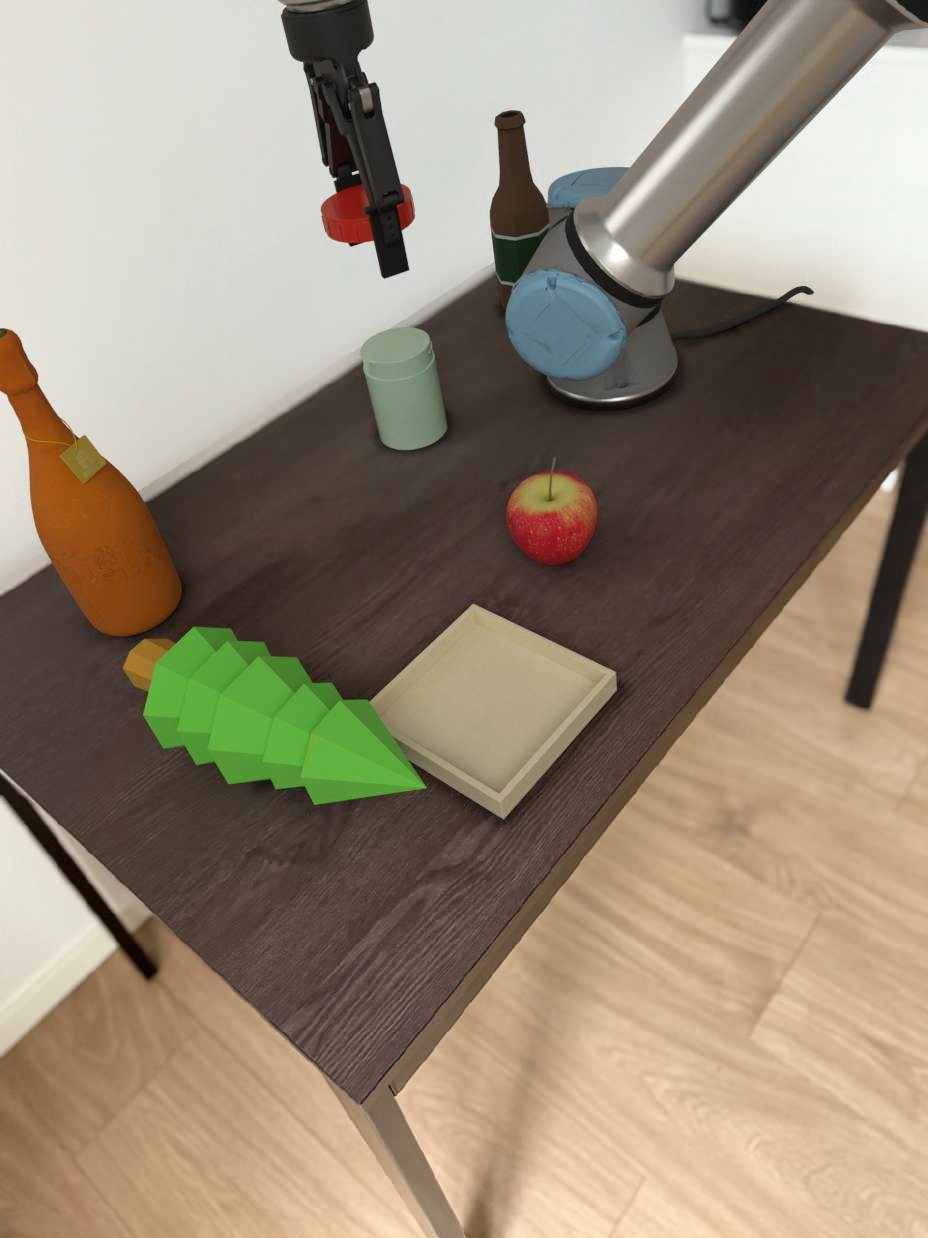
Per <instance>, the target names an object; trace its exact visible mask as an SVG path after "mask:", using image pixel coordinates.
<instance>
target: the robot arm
mask: <svg viewBox="0 0 928 1238" xmlns="http://www.w3.org/2000/svg"><path fill="white" fill-rule="evenodd" d="M277 2H279V4H281V5H283V6H285V7H284V8H283V9H282V11H281V14H280V18H281V19H280V20H281V23H282V27H283V31H284V36H285V39H286V43H287V47H288V51H289V55H290V57H292V58H293V59H294V60H295V61H296V62H300V63H302V69H303V71H304V72H303V73H304V74H305V78H306V82H307V86H308V90H309V95H310V100H311V106H312V112H313V117H314V122H315V123H314V124H315V129H316V134H317V138H318V145H319V150H320V156H321V162H322V164H323V166H324V167H325V168H328V173H329V175H330V176H331V178H332V179H334V180H333V185H334V189H335V194H336V193H338V192H340V191H342V190H344V189H347V188H350V187H353V186H357V185H361V184H363V186H364V189H365V192H366V195H367V198H368V201H369V206H368V207H366V208H364V209H363V211H364V213H365V215H368V217H369V221H370V226H371V230H372V235H373V240H374V241H373V244H374V248H375V249H374V250H375V253H376V257H377V262H378V267H379V272H380V277H382V278H383V280H386V279H389V278H392V277H395V276H397V275H401V274H403V273H405V272H409V271H410V266H409V260H408V255H407V250H406V245H405V241H404V234H403V230H402V229H401V224H400V219H399V214H398V208H397V205H400V204H403V203H404V202H405V199H404V194H403V191H402V187H401V184H402V183H401V180H400V176H399V171H398V168H397V164H396V160H395V156H394V153H393V148H392V144H391V141H390V137H389V133H388V129H387V124H386V121H385V117H384V113H383V106H382V99H381V94H380V93H381V92H380V87H379V86H378V83H377V82H376V81H373V82H370V83H369V79H368V76H367V74H366V72H365V71H362V68H361V64H360V61H359V55H360V53H361V52H362V51H363V50H364V51H365V50H367V49H368V48H369V47H371V45H372V44H373V42H374V39H375V33H374V27H373V22H372V16H371V12H370V11H371V10H370V6H369V1H368V0H277ZM923 29H928V0H767V1H766V2H765V3H764V4H763V6H761V8H760V9H759V10H758V11H757V13H756V14H755V15H754V16H753V18H752V19H751V20H750V21H749V23H748V24H747V25H746V26H745V27H744V28H743V30H742V31H741V32H740V33H739V35H738V36H737V37H736V38H735V39H734V41H732V43H731V44H730V45H729V47H728V48H726V50H725V52H724V53H722V55H721V56H720V57H719V58H718V60H717V61H716V63H715V64H714V65H713V66H712V67H711V68H710V70H708V72H707V74H705V76H704V77H703V78H702V79H701V81H700V82H699V83H698V84H697V85H696V86H695V88H693V90H692V92H690V94H689V95H688V96H687V97H686V99H685V100H684V101H683V102H682V104H680V106H679V107H678V108H677V109H676V110H675V112H674V113H673V114H672V115H671V117H670V118H669V119H668V120H667V121H666V123H665V124H664V126H663V127H662V128H661V129H660V130H659V131H658V133H657V134H656V135H655V136H654V138H653V139H652V140H650V142H649V143H648V145H647V146H646V147H645V148H644V150H643V151H642V152H641V153H640V155H639V156H638V157H637V158H636V159H635V161H634V162H633V163H632V164H631V165H630V166H629V167H628V166H606V167H596V168H595V167H594V168H588V169H583V170H577V171H574V172H570V173H567V174H564V175H562V176H560V177H557V178H556V179H555V180H554V181H552V182H551V184H550V185H549V187H548V189H547V202H546V203H547V204H546V207H547V208H548V212H549V230H548V232H547V234H546V236H545V237H544V239H543V240H542V242H541V244H540V245H539V247H538V249H537V250H536V252H535V254H534V255H533V257H532V259H531V260H530V262H529V264H528V266H527V267H526V269H525V271H524V272H523V274H522V276H521V277H520V279H519V280H518V281H517V282H516V283H515V284H514V286H513V288H512V290H511V292H512V293H511V294H510V298H509V302H508V305H507V309H506V313H505V326H506V330H507V334H508V339H509V341H510V342H511V345H512V347H513V348H514V350H515V351H516V353H517V354H518V355H519V356H520V358H521V359H522V360H523V361H524V362H525V363H526V364H527V365H529V366H530V367H531V368H532V369H534V370H535V371H537V372H539V373H540V374H543V375H545V377H546V384H547V387H548V389H549V391H550V393H551V394H552V395H553V396H554V397H556V398H557V399H558V400H559V401H561V402H562V403H565V404H567V405H570V406H573V407H576V408H580V409H586V410H592V411H617V410H623V409H630V408H634V407H637V406H641V405H643V404H644V405H645V404H646V403H649V402H651V401H653V400H655V399H657V398H658V397H660V396H662V395H663V394H664V393H666V392H667V391H668V390H669V389H671V387H672V386H673V385H674V383H675V381H676V379H677V377H678V354H677V350H676V348H675V345H674V343H673V342H674V341H681V340H687V339H698V338H704V337H707V336H711V335H714V334H718V333H721V332H724V331H726V330H729V329H731V328H734V327H737V326H739V325H742V324H745V323H746V322H749V321H751V320H753V319H755V318H758V317H759V316H761V315H763V314H766V313H767V312H769V311H771V310H774V309H775V308H778V307H779V306H781V305H783V304H784V303H786V302H788V301H789V300H790V299H792V298H793V297H795V296H796V295H798V294H805V295H807V296H811V295H813V294H815V291H814V290H813V289H812V288H811V287H809V286H806V285H799V286H796V287H793V288H791V289H790V290H788V291H787V292H786V293H784V294H783V295H781V296H779V297H778V298H776V299H775V300H773V301H770V302H769V303H766V304H764V305H762V306H760V307H758V308H755V310H752V311H750V312H747V313H746V314H743V315H741V316H739V317H736V318H734V319H731V320H729V321H726V322H723V323H720V324H717V325H714V326H710V327H707V328H704V329H699V330H692V331H691V330H690V331H682V332H681V331H680V332H675V333H670V331H669V328H668V325H667V322H666V319H665V315H664V314H663V313H664V312H663V309H662V301H663V300H664V299H665V298H666V297H667V296H668V295H669V294H670V293H671V291H672V290H674V287H675V281H676V279H675V278H676V276H675V264H676V263H677V262H678V261H679V260H680V259H681V258H682V256H684V254H685V253H686V252H688V250H689V249H690V248H691V247H692V246H693V245H694V244H695V243H696V242H697V241H698V240H699V239H700V238H701V237H702V236H703V235H704V234H705V233H706V232H707V230H709V229H710V227H711V226H712V225H713V224H714V223H715V222H716V221H717V220H718V219H719V218H720V217H721V216H722V215H723V214H724V213H725V212H726V211H727V210H728V208H729V207H731V205H732V204H733V203H734V202H735V201H736V200H737V199H738V198H739V197H740V196H741V195H742V194H743V193H744V192H745V191H746V190H747V189H748V188H749V187H750V186H751V185H752V184H753V183H754V181H756V179H757V178H758V177H760V175H761V174H762V173H764V171H765V169H767V168H768V167H769V166H770V165H771V163H773V161H775V159H776V158H778V156H780V155H781V153H782V152H783V151H784V150H785V149H786V148H787V147H788V146H790V144H791V143H792V142H793V141H794V140H795V139H796V138H797V137H798V136H799V135H800V134H801V132H803V130H804V129H805V128H806V127H807V126H808V125H809V124H810V123H811V122H812V121H813V120H814V119H815V118H816V117H817V116H818V115H819V113H820V112H822V110H824V109H825V107H826V106H827V105H828V104H829V103H830V102H831V101H832V100H833V99H834V98H835V97H836V96H837V95H838V94H839V93H840V92H841V91H842V90H843V89H844V88H845V87H846V86H847V85H848V83H849V82H850V81H851V80H852V79H853V78H854V77H855V76H856V75H857V74H858V73H859V72H860V71H861V70H862V69H863V68H864V67H865V66H866V65H867V64H868V63H869V61H871V59H872V58H873V57H874V56H876V54H877V53H878V52H879V51H881V50H882V48H883V47H884V46H885V45H886V44H887V43H888V42H889V41H890V39H892V38H893V37H894V36H895V34H899V33H901V32H905V31H914V30H923ZM355 172H357V173H355ZM353 173H354V174H353ZM385 193H386V194H385ZM364 243H365V242H363V243H347V244H348V246H349V247H350V248H352V247H355V246H358V245H361V244H364Z"/></svg>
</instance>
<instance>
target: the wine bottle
mask: <svg viewBox="0 0 928 1238" xmlns="http://www.w3.org/2000/svg"><path fill="white" fill-rule="evenodd" d="M38 382H39V373H38V371H37V368H36V367H35V366H34V364H33V363H32V362H31V361H30V359H29V357H28V354H27V352H26V351H25V349H24V346H23V343H22V339H21V338H20V336H19V334H17V333H16V332H15V331H14V330H12V329H10V328H5V327H1V328H0V392H1V393H3V394H4V395H6V397H7V399H8V403H9V404H10V406H11V407H12V409H13V411H14V414H15V415H16V417H17V419H18V421H19V423H20V424H19V425H20V427H21V432H22V434H23V435H24V439H25V442H26V448H27V456H28V457H27V458H28V472H29V473H28V474H29V475H28V476H29V496H30V498H29V499H30V506H31V513H32V517H33V523H34V526H35V530H36V533H37V536H38V539H39V541H40V543H41V545H42V547H43V549H44V551H45V553H46V555H47V557H48V558H49V560H50V562H51V564H52V566H53V567H54V568H55V571H56V573H57V574H58V576H59V577H60V579H61V580H62V581H63V583H64V585H65V586H66V588H67V590H68V591H69V593H70V595H71V596H72V597H73V599H74V601H75V602H76V604H77V605H78V608H80V610H81V612H82V613H83V615H84V616H85V617H86V619H87V620H88V621H89V623H90V624H91V625H92V626H93V628H95V630H97V631H99V632H100V633H102V634H104V635H108V636H111V637H131V636H135V635H140V634H143V633H145V632H148V631H150V630H152V629H154V628H156V627H158V626H159V625H161V624H162V623H164V622H165V621H166V620H167V619H169V617H170V616H171V615H173V613H174V612H175V611H176V609H177V607H178V606H179V604H180V601H181V599H182V595H183V588H182V582H181V579H180V576H179V574H178V571H177V569H176V567H175V564H174V561H173V559H172V557H171V555H170V552H169V550H168V548H167V546H166V544H165V542H164V539H163V537H162V535H161V532H160V531H159V528H158V526H157V524H156V522H155V519H154V518H153V516H152V514H151V511H150V510H149V507H148V506H147V504H146V502H145V501H144V498H143V497H142V496H141V494H140V493H139V491H138V490H137V489H136V487H135V486H134V485H133V484H132V483H131V482H130V480H129V479H128V478H127V477H126V476H125V475H124V474H123V473H122V471H120V470H119V469H118V468H117V467H116V466H115V465H114V464H113V463H111V462H110V461H109V460H108V459H107V458H105V457H104V456H103V455H102V454H101V453H100V452H99V451H98V449H97V448H96V447H95V445H94V444H93V443H92V442H91V440H90V439H89V438H88V437H87V435H86V434H84V435H82V436H80V437H79V436H77V435H76V433H74V431H73V429H72V428H71V426H70V425H69V424H68V422H66V421H65V419H63V418H61V417H60V416H59V415H58V413H57V412H56V411H55V409H54V408H53V406H52V404H51V403H50V401H49V399H48V398H47V397H46V395H45V393H44V392H43V390H42V388H41V387H40V384H39V383H38Z"/></svg>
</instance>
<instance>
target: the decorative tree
mask: <svg viewBox="0 0 928 1238" xmlns="http://www.w3.org/2000/svg"><path fill="white" fill-rule="evenodd" d="M122 670H123V671H124V673H125V674H126V676H127V677H128V679H129V681H130V682H131V684H132V685H133V687H135V688H137V689H140V690H143V691H145V692H148V693H147V696H146V701H145V706H144V709H143V713H142V716H143V718H144V720H145V721H146V722H147V724H148V726H149V728H150V729H151V731H152V732H153V734H154V736H155V737H156V739H157V741H158V743H159V744H160V746H161V748H162V749H164V750H165V749H174V748H184V747H185V748H186V750H187V752H188V754H189V755H190V757H191V758H192V760H193V762H194V764H195V765H196V766H200V765H207V764H215V765H216V766H217V768H218V770H219V771H220V773H221V774H222V776H223V778H224V780H225V781H226V783H227V784H228V785H234V784H235V785H236V784H242V783H243V784H244V783H252V782H261V781H262V782H263V781H269V780H270V781H271V783H272V784H273V787H274V789H275V790H281V789H290V788H298V787H299V788H300V787H305V790H306V791H307V793H308V795H309V797H310V800H311V801H312V803H313V805H314V806H316V805H321V804H323V805H324V804H330V803H336V802H342V801H343V802H344V801H351V800H357V799H363V798H371V797H375V796H376V797H378V796H384V795H390V794H397V793H403V792H409V791H410V792H411V791H417V790H423V789H424V790H425V789H427V788H428V787H427V785H426V784H425V783H424V781H423V780H422V778H421V777H420V775H419V774H418V772H417V771H416V769H415V768H414V766H413V765H412V763H411V761H409V760H408V759H407V758H406V756H405V755H404V753H403V752H402V750H401V749H400V747H399V746H398V744H397V743H396V741H395V740H394V738H393V737H392V735H391V734H390V732H389V731H388V730H387V728H386V727H385V725H384V724H383V722H382V721H381V719H380V718H379V716H378V715H377V713H376V712H375V710H374V709H373V707H372V706H371V704H370V703H369V702H370V700H368V699H343V697H342V696H341V694H340V693H339V691H338V690H337V689H336V687H335V685H334V684H333V683H332V682H314V683H313V680H311V678H310V676H309V675H308V673H307V671H306V670H305V668H304V666H303V664H302V663H301V662H300V660H299V659H298V657H297V656H296V657H295V656H273V655H271V654H270V652H269V650H268V647H267V646H266V643H265V641H247V640H246V641H245V640H238V638H237V637H236V635H235V634H234V632H233V629H232V628H228V627H227V628H225V627H208V626H207V627H205V626H192V628H191V629H190V630H188V632H187V633H186V634H184V635H183V636H182V637H181V638H180V639H179V640H178V641H177V642H175V641H172V640H170V639H169V638H144V639H143V640H141V641H140V642H139V643H138V644H136V645H135V646H134V647H133V648H132V649H130V651H129V652H128V655H127V657H126V659H125V661H124V664H123V666H122Z"/></svg>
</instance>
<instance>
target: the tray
mask: <svg viewBox="0 0 928 1238" xmlns="http://www.w3.org/2000/svg"><path fill="white" fill-rule="evenodd" d="M617 681H618V680H617V672H616V671H615V670H613V669H610V668H609V667H607V666H604V665H602V664H600V663H598V662H596V661H594V660H592V659H590V658H588V657H585V656H584V655H581V654H579V653H577V652H575V651H573V650H571V649H569V648H567V647H565V646H563V645H561V644H558V643H557V642H555V641H552V640H550V639H549V638H546V637H544V636H542V635H540V634H538V633H536V632H533V631H531V630H529V629H527V628H525V627H523V626H521V625H519V624H517V623H515V622H513V621H510V620H508V619H506V618H504V617H502V616H500V615H498V614H496V613H494V612H492V611H490V610H487V609H486V608H484V607H481V606H479V605H477V604H475V603H472V604H471V605H470V606H469V607H468V608H467V609H466V610H465V611H464V612H463V613H462V614H461V615H460V616H458V618H456V619H455V620H453V622H452V623H451V624H450V625H449V626H448V627H447V628H446V629H445V630H443V631H442V633H440V635H438V636H437V637H436V638H435V639H434V640H433V641H432V642H431V643H430V644H429V645H427V647H426V648H425V649H424V650H423V651H421V652H420V653H419V654H418V655H417V656H416V657H415V658H414V659H413V660H412V661H411V662H409V663H408V664H407V665H406V666H405V668H404V669H402V670H401V671H400V672H399V673H398V674H396V676H395V677H394V678H393V679H392V680H391V681H390V682H388V683H387V684H386V685H385V686H384V687H383V688H382V689H381V690H380V691H379V692H378V693H376V695H375V696H374V697H373V698H371V699H370V700H369V703H370V704H371V706H372V707H373V709H374V710H375V712H376V713H377V715H378V716H379V718H380V719H381V721H382V722H383V724H384V725H385V727H386V728H387V730H388V731H389V732H390V734H391V735H392V737H393V738H394V740H395V741H396V743H397V744H398V746H399V747H400V749H401V750H402V752H403V753H404V755H405V756H406V758H407V759H408V761H409V762H410V763H411V764H414V765H415V766H417V767H419V768H420V769H422V770H423V771H425V772H427V773H428V774H430V775H431V776H433V777H435V778H436V779H437V780H440V781H441V782H443V783H444V784H446V785H448V786H449V787H451V788H452V789H454V790H456V791H457V792H458V793H460V794H462V795H464V796H465V797H467V798H469V800H472V801H473V802H475V803H476V804H478V805H480V806H481V807H483V808H484V809H486V810H487V811H489V812H491V813H492V814H494V815H496V816H497V817H499V818H501V819H502V820H505V819H506V818H507V816H508V815H510V814H511V812H512V811H513V810H514V809H515V807H516V806H517V805H518V804H519V803H520V802H521V800H522V799H524V797H525V796H526V795H527V794H528V793H529V791H530V790H531V789H532V788H533V787H534V786H535V785H536V783H537V782H538V781H539V780H540V779H541V778H542V776H543V775H545V773H546V772H547V771H548V770H549V769H550V768H551V766H552V765H553V764H554V763H555V762H556V761H557V760H558V759H559V757H560V756H561V755H562V754H563V752H565V750H566V749H567V748H568V747H569V746H570V745H571V744H572V742H573V741H574V740H575V739H576V738H577V737H578V736H579V734H580V733H581V732H582V731H583V730H584V729H585V728H586V726H587V725H588V724H589V723H590V722H591V721H592V719H593V718H594V717H595V716H596V715H597V714H598V713H599V711H600V710H601V709H602V708H603V707H604V706H605V704H607V703H608V701H609V700H610V699H611V698H612V697H613V696H614V695H615V693H616V692H617V690H618V685H617Z"/></svg>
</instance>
